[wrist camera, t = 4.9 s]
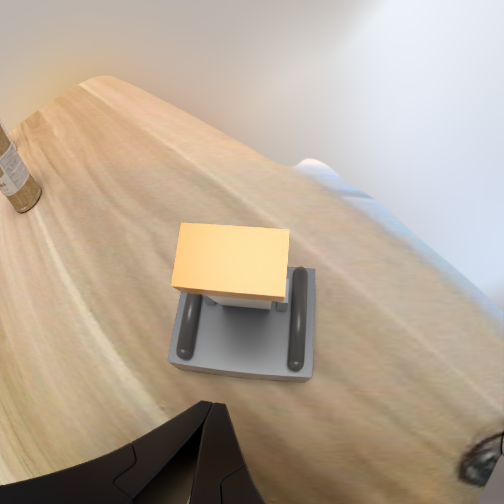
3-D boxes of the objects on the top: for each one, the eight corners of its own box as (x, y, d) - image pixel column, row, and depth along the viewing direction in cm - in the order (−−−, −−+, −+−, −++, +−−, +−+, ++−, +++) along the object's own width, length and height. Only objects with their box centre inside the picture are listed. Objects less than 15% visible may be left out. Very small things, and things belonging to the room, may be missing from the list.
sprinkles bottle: (11, 210, 29) (-42, 137, 17) (30, 184, 31) (-16, 109, 20) (28, 216, 28) (-30, 136, 17) (48, 188, 30) (-1, 106, 19)
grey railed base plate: (304, 382, 19) (316, 373, 16) (179, 368, 20) (159, 356, 16) (308, 286, 23) (319, 257, 19) (196, 277, 24) (183, 246, 20)
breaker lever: (276, 314, 19) (285, 296, 10) (213, 308, 19) (171, 285, 10) (279, 277, 19) (289, 229, 11) (217, 272, 19) (181, 222, 11)
